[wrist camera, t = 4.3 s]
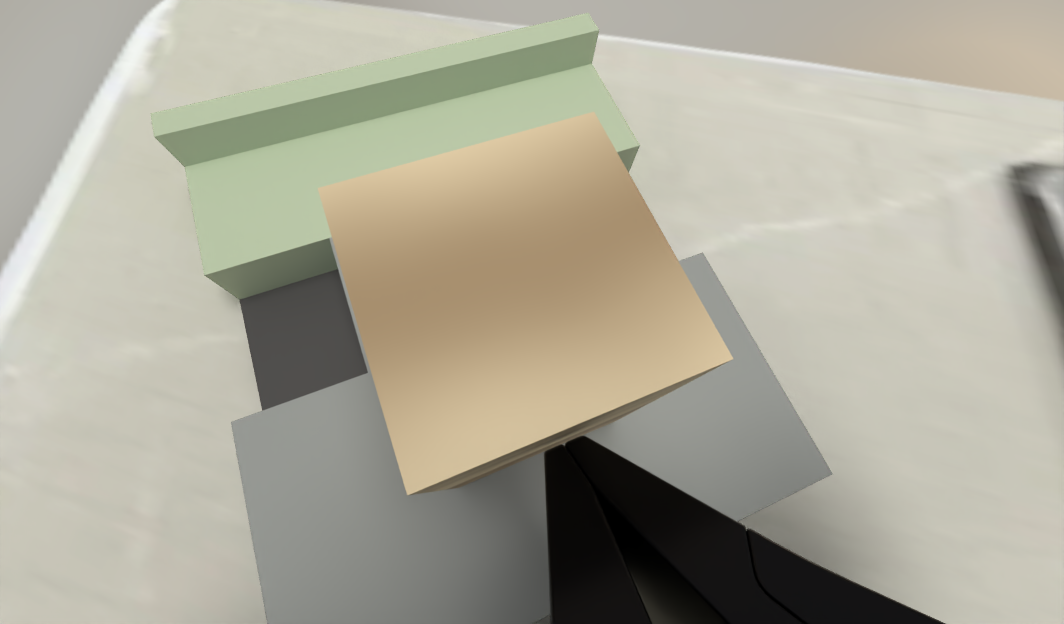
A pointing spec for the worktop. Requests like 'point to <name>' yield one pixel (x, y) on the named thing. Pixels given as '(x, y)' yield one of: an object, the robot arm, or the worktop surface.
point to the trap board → (342, 366)
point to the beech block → (513, 299)
